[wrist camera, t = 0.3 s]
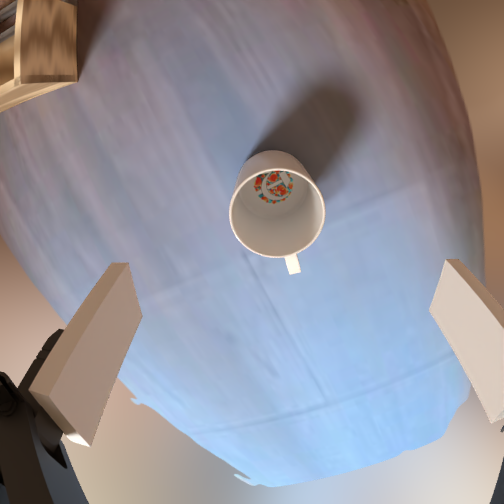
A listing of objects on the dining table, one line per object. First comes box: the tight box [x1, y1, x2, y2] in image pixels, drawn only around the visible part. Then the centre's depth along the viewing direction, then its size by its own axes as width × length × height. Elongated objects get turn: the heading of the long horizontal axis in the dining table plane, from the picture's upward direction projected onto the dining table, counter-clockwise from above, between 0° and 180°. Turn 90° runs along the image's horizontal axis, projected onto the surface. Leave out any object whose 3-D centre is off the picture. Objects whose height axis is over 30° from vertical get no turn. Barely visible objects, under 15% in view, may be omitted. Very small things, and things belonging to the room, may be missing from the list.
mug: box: [229, 150, 326, 275], centre depth 33 cm, size 12×9×11 cm
